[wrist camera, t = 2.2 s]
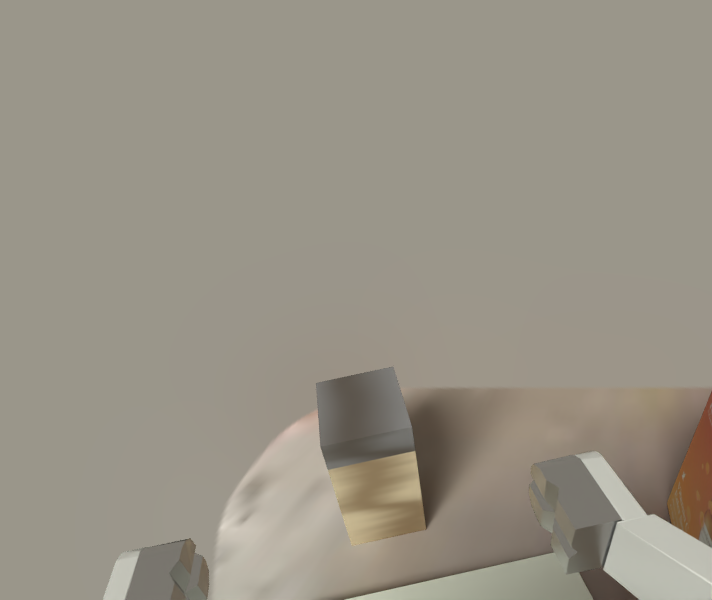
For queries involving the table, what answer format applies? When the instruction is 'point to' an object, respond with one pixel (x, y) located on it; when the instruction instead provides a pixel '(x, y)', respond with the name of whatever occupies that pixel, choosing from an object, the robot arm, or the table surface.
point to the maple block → (370, 455)
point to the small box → (695, 484)
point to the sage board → (497, 584)
